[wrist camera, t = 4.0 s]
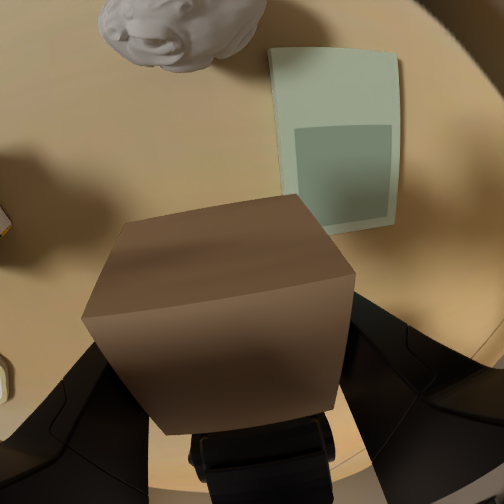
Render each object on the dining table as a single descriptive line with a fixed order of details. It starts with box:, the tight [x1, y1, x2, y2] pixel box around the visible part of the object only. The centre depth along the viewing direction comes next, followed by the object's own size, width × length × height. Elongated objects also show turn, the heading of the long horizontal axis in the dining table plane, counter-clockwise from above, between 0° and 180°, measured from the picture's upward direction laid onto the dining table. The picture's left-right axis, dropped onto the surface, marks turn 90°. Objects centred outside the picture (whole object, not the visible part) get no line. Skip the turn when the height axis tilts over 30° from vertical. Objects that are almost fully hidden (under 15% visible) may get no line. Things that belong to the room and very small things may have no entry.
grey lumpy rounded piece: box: [98, 0, 267, 73], centre depth 10 cm, size 6×7×7 cm
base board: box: [267, 47, 400, 235], centre depth 17 cm, size 12×8×1 cm, turn 7°
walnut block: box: [81, 194, 356, 435], centre depth 8 cm, size 5×5×4 cm
